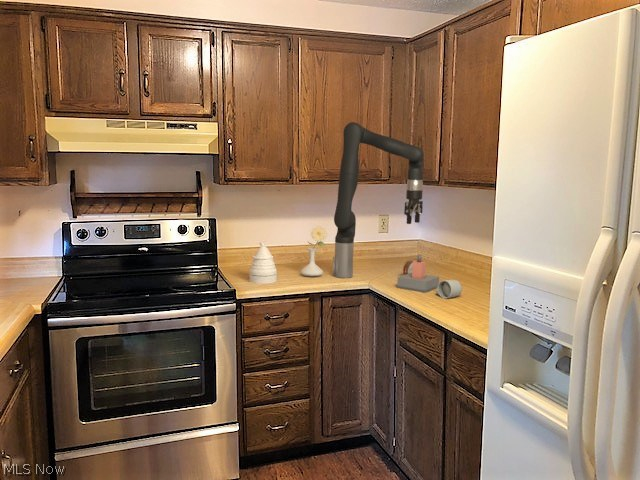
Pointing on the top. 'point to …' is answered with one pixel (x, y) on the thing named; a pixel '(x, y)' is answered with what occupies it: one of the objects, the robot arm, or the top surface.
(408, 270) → the tin
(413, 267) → the plug
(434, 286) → the socket block
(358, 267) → the top surface
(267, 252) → the honey pot
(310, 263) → the flower in vase
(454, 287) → the ceramic mug
